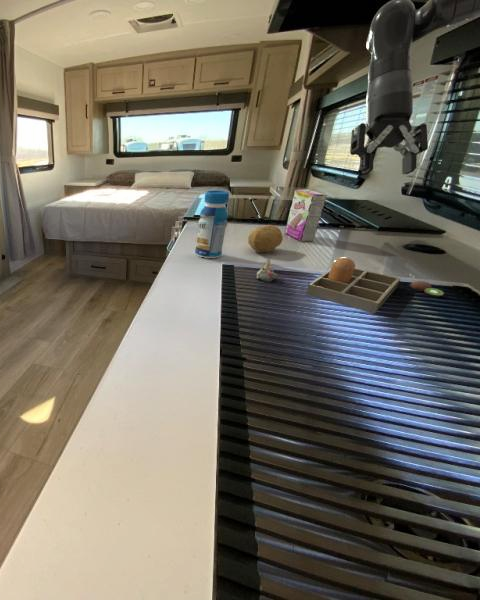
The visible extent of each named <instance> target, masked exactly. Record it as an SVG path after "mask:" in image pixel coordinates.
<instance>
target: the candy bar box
mask: <svg viewBox="0 0 480 600" xmlns="http://www.w3.org/2000/svg"><path fill="white" fill-rule="evenodd" d="M327 196H328V195H327V194H325V193H323V192H320V191H319V192H318V191H315V190H311V189H295V190H294V192H293V197H292V201H291V205H290V208H289V214H288V218H287V222H286V224H285V225H286V226H285V230H284V234H285V235H287V236H288V237H291V238H293V239H295V240H297V241H299V242H305V243H306V242H307V243H308V242H314V241H315V237H316V234H317V230H318V227H319V224H320V220H321V218H322V217H321V216H322V213H323V210H324V207H325V203H326V200H327Z"/></svg>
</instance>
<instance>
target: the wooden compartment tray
mask: <svg viewBox="0 0 480 600" xmlns="http://www.w3.org/2000/svg"><path fill="white" fill-rule="evenodd" d="M330 269H331V268H329V269H328V270H326V271H325V272H324V273H322V274H321V275H320V276H318V277H317V278H315V279H314V280H313V281H311V282H310V283H309V284H308V285H307V288H306V291H305V295H307V296H311V297H314V298H318V299H321V300H325V301H329V302H332V303H335V304H339V305H343V306H346V307H349V308H353V309H356V310H360V311H363V312H367V313H371V314H374V315H375V314H376V313H377V312H378V310H379V309H380V308H381V307H382V306H383V304H384V303H385V302H386V301H387V300H388V298H390V296H391V295H392V294H393V293H394V292H395V290H396V289H397V288H398V285H399V284H400V281H401V278H400V277H397V276H393V275H387V274H383V273H379V272H375V271H368V270H364V269H360V268H357V267H355V270H354V273H353V276H352V278H351V281H350V284H346V283H342V282H338V281H334V280H330V279H327V278H328V275H329V272H330Z"/></svg>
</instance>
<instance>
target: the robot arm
mask: <svg viewBox="0 0 480 600" xmlns="http://www.w3.org/2000/svg"><path fill="white" fill-rule="evenodd" d="M478 16H480V0H428V1H426V3H425V4H423V6H422V7H420V8H418V9H416V7H415V4H414V3H413V1H411V0H389V1H388V2H386V3H385V4H384V5H382V6H381V7H380V8H379V9H378V10H377V12H376V13H375V15H374V16H373V18H372V21H371V23H370V26H369V31H368V35H367V37H366V44H365V46H366V50H367V52H369V53H370V54H371V57H370V61H369V65H368V70H367V90H366V95H365V96H366V98H365V99H366V100H365V102H366V103H365V123H364V122H362V123H361V122H360V124H358V125H357V126H355V127H354V128H353V129H352V130H351V134H350V137H351V139H350V148H349V149H350V150H349V154H350V155H351V156H355V155H356V156H358V157H359V170H360V171H361V174H362V175H367V174H369V173H371V172H373V170H374V153H373V152H374V151H375V149H376V148H389V149H390V148H393V150H394V151H395V152H399V154H400V155H401V156H402V157H403V158H401V174H402V175H409V174H411V173H413V172H415V170H416V169H417V163H418V162H417V161H418V160H417V157H418V155H419V154H421V153H423V152H425V151H427V150H428V149H429V141H428V125H427V123H425V122H423V123H420V124H418V125H412V124H411V122H410V120H411V117H412V115H413V111H414V110H413V107H414V106H413V104H414V102H413V101H414V100H413V97H414V90H413V89H414V83H413V77H412V76H413V75H412V50H411V49H412V43H414V42H417V41H419V40H420V39H423V38H424V37H426V36H428V35H430V34H432V33H434V32H436V31H438V30H440V29H443V28H444V29H445V28H447V27H451V26H452V25H457V24H458V23H461V22H464V21H468V20H470V19H473V18H476V17H478ZM366 136H367V137H368V139H369V140H368V141H367V142H366V144H365V141H366ZM403 141H404V143H403ZM401 143H402V144H401Z"/></svg>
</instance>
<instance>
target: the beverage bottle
mask: <svg viewBox="0 0 480 600" xmlns="http://www.w3.org/2000/svg"><path fill="white" fill-rule="evenodd" d="M229 197H230V192H229V191H227V190H217V189H216V190H214V189H213V190H206V191H205V194H204V201H203V202H204V204H205V205H204V206H203V207H202V209H201V211H200V213H199V216H200V218H199V220H198V223H197V225H198V229H197V237H196V244H195V249H194V250H195V251H194V255H196V256H197V257H199V256H200V257H199V258H202V257H204V258H203V259H209V258H213V259H218V258H220V257H221V256H222V253H223V245H224V240H225V234H226V228H227V227H228V220H227V219H228V217H229V210H228V208H227V206H226V205H227V204H228V202H229Z"/></svg>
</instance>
